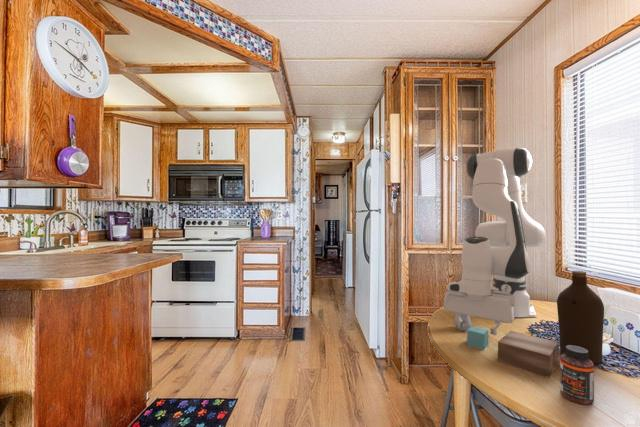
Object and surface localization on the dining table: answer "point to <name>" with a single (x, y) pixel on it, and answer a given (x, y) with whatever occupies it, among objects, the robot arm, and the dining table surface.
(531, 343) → the walnut block
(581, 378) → the supplement bottle
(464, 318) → the salt shaker
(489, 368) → the dining table surface
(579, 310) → the olive oil
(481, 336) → the teal cube
